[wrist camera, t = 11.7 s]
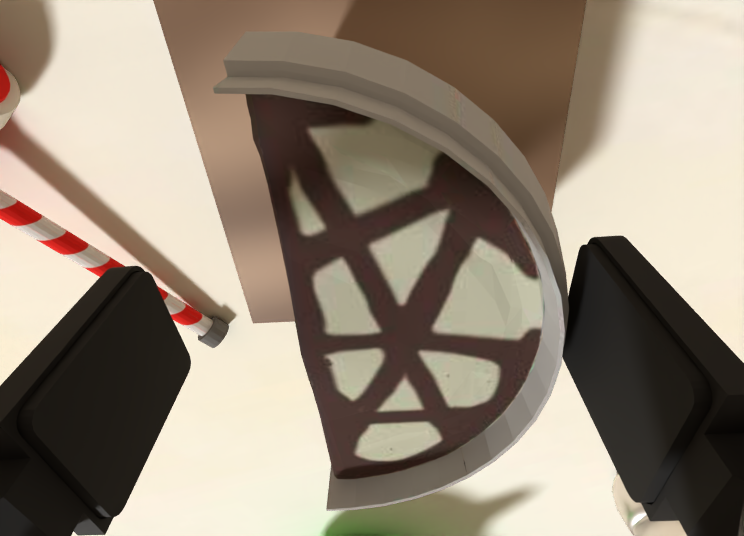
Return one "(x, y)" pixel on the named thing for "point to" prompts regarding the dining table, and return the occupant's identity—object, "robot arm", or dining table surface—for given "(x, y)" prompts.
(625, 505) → the plastic bottle
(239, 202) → the walnut brick
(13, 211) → the toy hammer
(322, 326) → the food container
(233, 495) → the dining table surface
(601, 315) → the robot arm
